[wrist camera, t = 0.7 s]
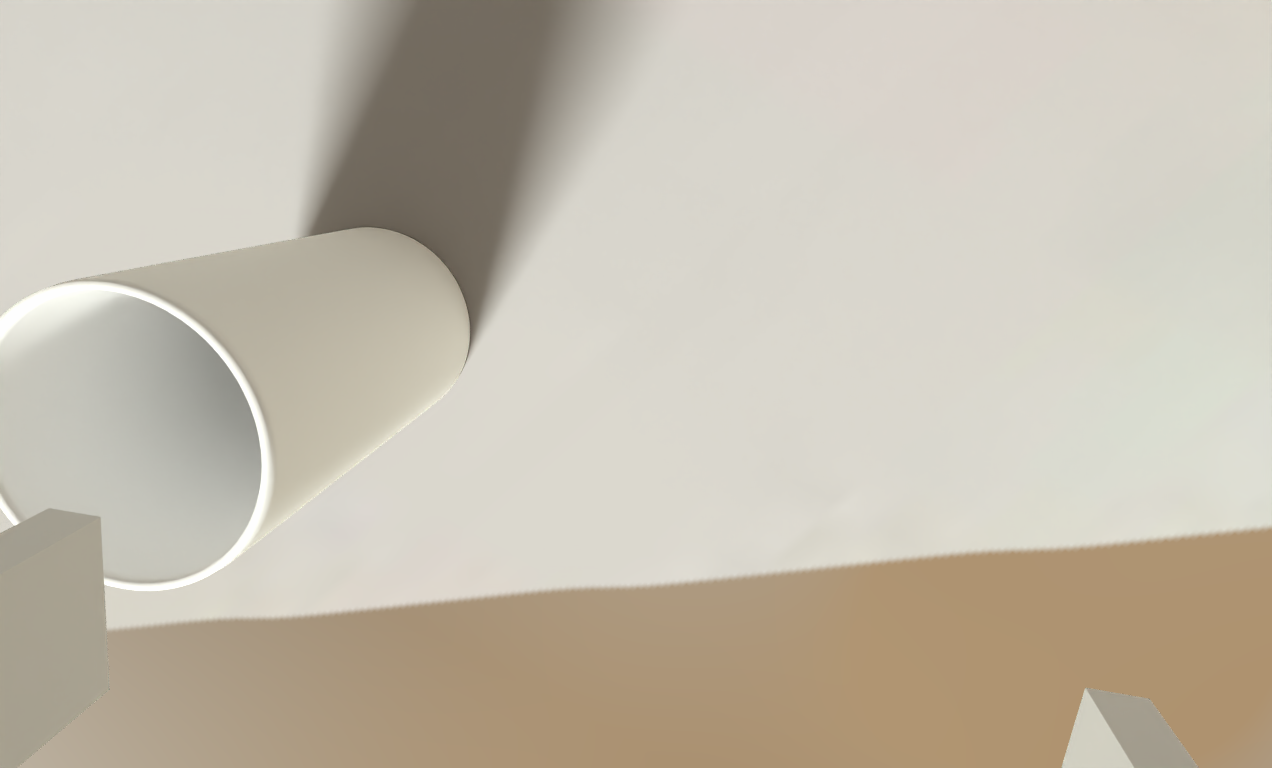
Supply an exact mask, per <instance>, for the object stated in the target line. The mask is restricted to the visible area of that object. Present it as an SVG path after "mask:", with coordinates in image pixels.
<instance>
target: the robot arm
mask: <svg viewBox="0 0 1272 768" xmlns="http://www.w3.org/2000/svg"><path fill="white" fill-rule="evenodd" d="M109 687H110V686H109V667H108V648H107V629H106V610H105V591H104V572H103V553H102V534H101V517H98V516H92V515H87V514H81V513H75V512H69V511H64V510H58V509H52V508H48V509H46V510H44V511H42V512H40V513H38V514H36V515H34V516H33V517H31V518H29V519H27V520H25V521H23V522H21V523H19V524H17V525H15V526H13V527H11V528H9V529H7V530H5V531H4V532H2V533H0V768H17V767H19V766H20V765H21V764H22V763H23V762H25V761H26V760H27V759H28V758H29V757H31V756H32V755H33V754H34V753H35V752H36V751H38V750H39V749H40V748H41V747H42V746H44V745H45V744H46V743H47V742H48V741H49V740H50V739H52V738H53V737H54V736H55V735H56V734H58V733H59V732H60V731H61V730H62V729H64V728H65V727H66V726H67V725H68V724H69V723H71V722H72V721H73V720H74V719H75V718H76V717H78V716H79V715H80V714H81V713H82V712H84V711H85V710H86V709H87V708H88V707H89V706H91V705H92V704H93V703H94V702H95V701H97V700H98V699H99V698H100V697H101V696H103V695H104V694H105V693H106V692H107V691H108V690H109V689H110V688H109ZM1062 768H1198V766H1197V765H1196V763H1195V762H1194V761H1193V759H1192V758H1191V756H1190V755H1189V753H1188V752H1187V751H1186V749H1185V748H1184V746H1183V745H1182V744H1181V742H1180V741H1179V739H1178V738H1177V737H1176V735H1175V734H1174V732H1173V731H1172V730H1171V728H1170V727H1169V726H1168V724H1167V723H1166V721H1165V720H1164V718H1163V717H1162V716H1161V714H1160V713H1159V711H1158V710H1157V709H1156V707H1155V706H1154V705H1153V703H1152V702H1151V700H1150V699H1147V698H1141V697H1136V696H1130V695H1124V694H1118V693H1113V692H1107V691H1101V690H1096V689H1090V688H1085V691H1084V695H1083V698H1082V701H1081V705H1080V708H1079V711H1078V714H1077V718H1076V721H1075V724H1074V728H1073V731H1072V735H1071V738H1070V741H1069V745H1068V748H1067V751H1066V755H1065V758H1064V761H1063V765H1062Z"/></svg>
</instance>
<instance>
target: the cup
mask: <svg viewBox="0 0 1272 768" xmlns="http://www.w3.org/2000/svg"><path fill="white" fill-rule="evenodd" d="M469 342H470V322H469V315H468V310H467V306H466V303H465V300H464V297H463V294H462V292H461V290H460V288H459V285H458V283H457V282H456V280H455V278H454V277H453V275H452V274H451V272H450V271H449V269H448V268H447V267H446V266H445V264H444V263H443V262H442V261H441V260H440V259H439V258H438V257H437V256H436V255H435V254H434V253H433V252H432V251H430V250H429V249H428V248H427V247H425V246H424V245H422V244H421V243H419V242H418V241H416V240H414V239H412V238H410V237H408V236H406V235H403V234H401V233H398V232H395V231H392V230H387V229H382V228H373V227H361V228H353V229H347V230H341V231H336V232H331V233H325V234H320V235H314V236H309V237H303V238H298V239H292V240H287V241H281V242H276V243H271V244H265V245H260V246H254V247H249V248H243V249H238V250H232V251H227V252H222V253H216V254H211V255H205V256H200V257H194V258H189V259H183V260H178V261H172V262H167V263H162V264H156V265H151V266H145V267H140V268H134V269H129V270H124V271H118V272H113V273H108V274H102V275H97V276H92V277H86V278H81V279H76V280H71V281H67V282H63V283H59V284H57V285H54V286H51V287H48V288H45V289H43V290H40V291H37V292H35V293H33V294H31V295H29V296H27V297H25V298H24V299H22V300H21V301H19V302H18V303H16V304H15V305H13V306H12V307H11V308H10V309H9V310H7V311H6V312H5V313H4V314H3V315H2V316H1V317H0V508H1V509H2V510H3V512H4V513H5V514H6V516H7V517H8V518H9V520H10V521H11V522H12V523H13V524H14V525H17V524H19V523H21V522H23V521H25V520H27V519H29V518H31V517H33V516H34V515H36V514H38V513H40V512H42V511H44V510H46V509H48V508H52V509H58V510H64V511H69V512H75V513H81V514H87V515H92V516H98V517H101V534H102V553H103V572H104V584H105V585H108V586H113V587H117V588H122V589H129V590H140V591H155V590H166V589H172V588H178V587H181V586H185V585H188V584H191V583H194V582H196V581H199V580H201V579H203V578H205V577H207V576H209V575H211V574H213V573H214V572H216V571H218V570H220V569H222V568H223V567H225V566H226V565H228V564H229V563H230V562H232V561H233V560H235V559H236V558H237V557H238V556H240V555H241V554H242V553H244V552H245V551H246V550H248V549H249V548H250V547H251V546H253V545H254V544H255V543H257V542H258V541H259V540H260V539H262V538H263V537H264V536H266V535H267V534H268V533H270V532H271V531H272V530H273V529H275V528H276V527H277V526H279V525H280V524H281V523H282V522H284V521H285V520H286V519H288V518H289V517H290V516H291V515H293V514H294V513H295V512H297V511H298V510H299V509H300V508H302V507H303V506H304V505H306V504H307V503H308V502H309V501H311V500H312V499H313V498H314V497H316V496H317V495H318V494H320V493H321V492H322V491H323V490H325V489H326V488H327V487H329V486H330V485H331V484H332V483H334V482H335V481H336V480H338V479H339V478H340V477H341V476H343V475H344V474H345V473H347V472H348V471H349V470H350V469H352V468H353V467H354V466H356V465H357V464H358V463H359V462H361V461H362V460H363V459H365V458H366V457H367V456H368V455H370V454H371V453H372V452H373V451H375V450H376V449H377V448H379V447H380V446H381V445H382V444H384V443H385V442H386V441H388V440H389V439H390V438H391V437H393V436H394V435H395V434H397V433H398V432H399V431H400V430H402V429H403V428H404V427H406V426H407V425H408V424H409V423H411V422H412V421H413V420H415V419H416V418H417V417H418V416H420V415H421V414H422V413H423V412H425V411H426V410H427V409H429V408H430V407H431V406H432V405H434V404H435V403H436V402H438V401H439V400H440V399H441V398H442V397H443V396H444V395H445V394H446V393H447V392H448V391H449V390H450V389H451V387H452V386H453V385H454V383H455V382H456V380H457V379H458V377H459V375H460V373H461V371H462V369H463V367H464V364H465V361H466V358H467V354H468V349H469Z"/></svg>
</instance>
